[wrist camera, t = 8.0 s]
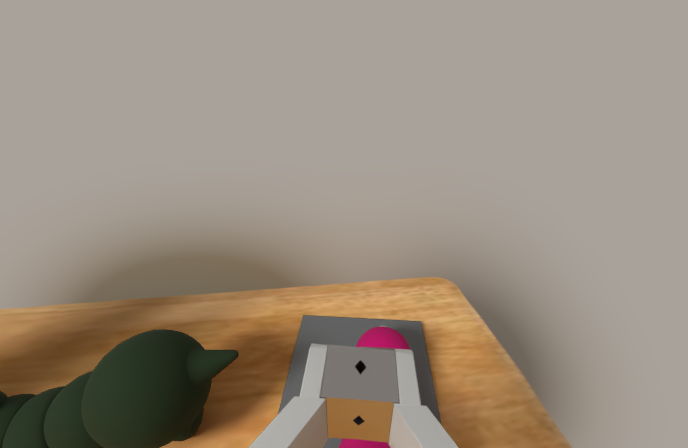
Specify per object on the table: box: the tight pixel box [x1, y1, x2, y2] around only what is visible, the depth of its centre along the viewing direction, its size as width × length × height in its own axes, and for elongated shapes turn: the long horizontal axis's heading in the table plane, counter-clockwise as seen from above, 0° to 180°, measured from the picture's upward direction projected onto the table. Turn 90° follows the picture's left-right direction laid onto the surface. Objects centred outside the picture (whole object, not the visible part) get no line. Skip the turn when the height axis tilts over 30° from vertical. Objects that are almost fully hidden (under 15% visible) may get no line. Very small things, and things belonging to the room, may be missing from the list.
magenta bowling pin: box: [339, 325, 410, 448], centre depth 27 cm, size 7×7×20 cm
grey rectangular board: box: [278, 315, 441, 448], centre depth 32 cm, size 22×16×1 cm
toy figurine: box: [0, 330, 239, 448], centre depth 25 cm, size 9×19×25 cm
